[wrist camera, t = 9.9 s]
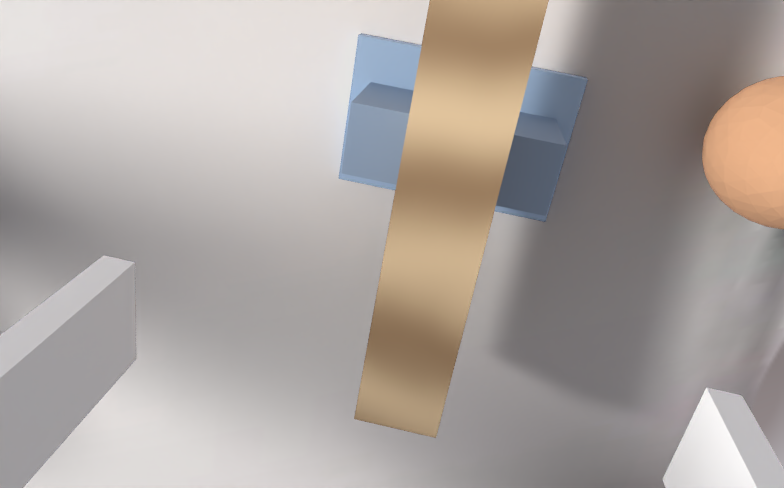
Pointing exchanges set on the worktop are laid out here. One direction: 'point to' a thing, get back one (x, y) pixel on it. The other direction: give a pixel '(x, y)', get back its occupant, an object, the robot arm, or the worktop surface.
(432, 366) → the oak bar
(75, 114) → the worktop surface
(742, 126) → the egg
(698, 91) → the worktop surface
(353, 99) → the fulcrum
